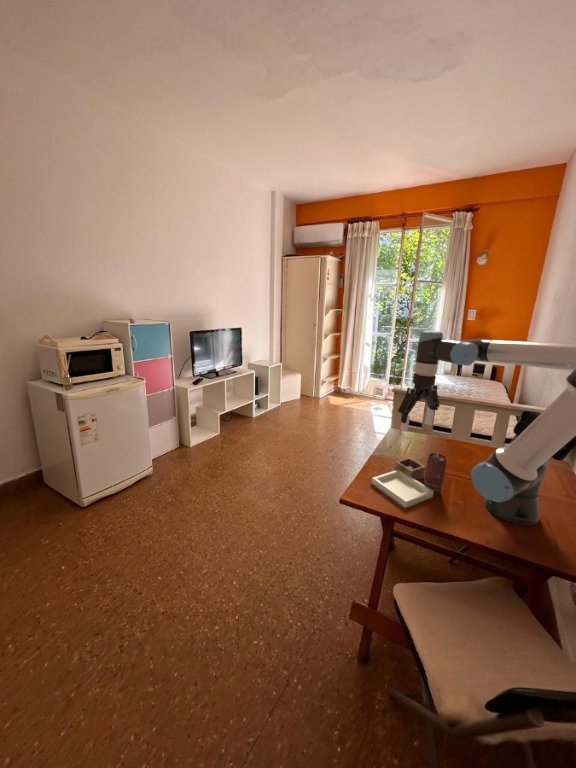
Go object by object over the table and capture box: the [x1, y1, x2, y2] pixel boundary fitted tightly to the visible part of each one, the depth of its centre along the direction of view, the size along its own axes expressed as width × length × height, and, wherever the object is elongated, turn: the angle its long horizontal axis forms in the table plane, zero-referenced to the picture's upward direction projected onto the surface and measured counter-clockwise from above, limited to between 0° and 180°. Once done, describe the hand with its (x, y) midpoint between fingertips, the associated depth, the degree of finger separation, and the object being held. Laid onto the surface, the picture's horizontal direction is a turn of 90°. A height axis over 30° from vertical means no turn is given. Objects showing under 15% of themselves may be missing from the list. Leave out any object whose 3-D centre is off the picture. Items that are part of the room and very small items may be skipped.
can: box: [422, 452, 448, 496], centre depth 116 cm, size 6×6×14 cm
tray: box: [371, 469, 434, 509], centre depth 116 cm, size 16×14×3 cm
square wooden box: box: [393, 457, 427, 481], centre depth 126 cm, size 8×8×5 cm
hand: (416, 427), depth 121 cm, fingers open, 13 cm apart
